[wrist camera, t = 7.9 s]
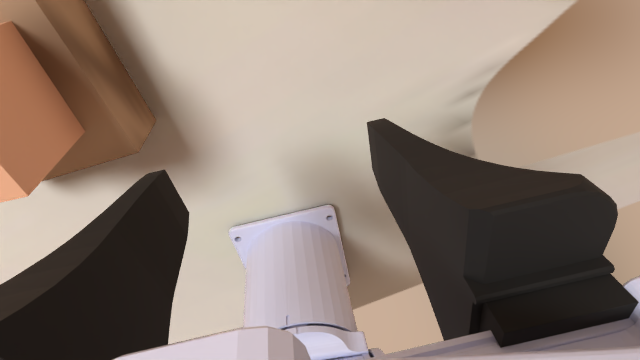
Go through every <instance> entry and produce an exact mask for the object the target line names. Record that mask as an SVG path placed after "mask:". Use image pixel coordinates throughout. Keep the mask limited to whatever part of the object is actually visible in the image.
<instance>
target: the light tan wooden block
mask: <svg viewBox="0 0 640 360" xmlns="http://www.w3.org/2000/svg"><path fill="white" fill-rule="evenodd" d="M8 21H12V23H13V24H14V26H15V27H16V29H17V30H18V32H19V33H20V35H21V36H22V38H23V39H24V41H25V42H26V44H27V45H28V47H29V48H30V50H31V51H32V53H33V54H34V56H35V57H36V59H37V60H38V62H39V63H40V65H41V66H42V68H43V69H44V71H45V72H46V74H47V75H48V77H49V78H50V80H51V81H52V83H53V84H54V86H55V87H56V88H57V90H58V91H59V93H60V94H61V96H62V97H63V99H64V100H65V102H66V103H67V105H68V106H69V108H70V109H71V111H72V112H73V114H74V115H75V117H76V118H77V120H78V121H79V123H80V124H81V126H82V127H83V129H84V130H85V132H84V134H83V135H82V136H81V137H80V138H79V139H78V140H77V142H76V143H75V144H74V145H73V146H72V147H71V148H70V149H69V151H68V152H67V153H66V154H65V155H64V156H63V157H62V158H61V160H60V161H59V162H58V163H57V164H56V165H55V166H54V167H53V169H52V170H51V171H50V172H49V173H48V174H47V175H46V177H45V178H44V179H43V180H42V181H44V180H47V179H51V178H54V177H58V176H61V175H64V174H68V173H71V172H74V171H78V170H81V169H84V168H88V167H91V166H94V165H98V164H101V163H105V162H108V161H111V160H115V159H118V158H121V157H125V156H128V155H131V154H135V153H138V152H139V151H140V149H141V147H142V145H143V144H144V142H145V140H146V138H147V136H148V135H149V133H150V131H151V129H152V127H153V125H154V124H155V122H156V119H155V118H154V116H153V114H152V113H151V111H150V109H149V108H148V106H147V104H146V103H145V101H144V99H143V98H142V96H141V94H140V93H139V91H138V89H137V88H136V86H135V84H134V83H133V81H132V79H131V78H130V76H129V74H128V73H127V71H126V69H125V68H124V66H123V64H122V63H121V61H120V60H119V58H118V56H117V55H116V53H115V51H114V50H113V48H112V46H111V45H110V43H109V41H108V40H107V38H106V36H105V35H104V33H103V31H102V30H101V28H100V26H99V25H98V23H97V21H96V20H95V18H94V16H93V15H92V13H91V11H90V10H89V8H88V6H87V5H86V3H85V1H84V0H0V23H4V22H8Z"/></svg>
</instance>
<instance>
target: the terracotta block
mask: <svg viewBox="0 0 640 360" xmlns="http://www.w3.org/2000/svg"><path fill="white" fill-rule="evenodd" d="M84 132H85V130H84V129H83V127H82V126H81V124H80V123H79V121H78V120H77V118H76V117H75V115H74V114H73V112H72V111H71V109H70V108H69V106H68V105H67V103H66V102H65V100H64V99H63V97H62V96H61V94H60V93H59V91H58V90H57V88H56V87H55V86H54V84H53V83H52V81H51V80H50V78H49V77H48V75H47V74H46V72H45V71H44V69H43V68H42V66H41V65H40V63H39V62H38V60H37V59H36V57H35V56H34V54H33V53H32V51H31V50H30V48H29V47H28V45H27V44H26V42H25V41H24V39H23V38H22V36H21V35H20V33H19V32H18V30H17V29H16V27H15V26H14V24H13V23H12V21H8V22H4V23H0V202H5V201H9V200H13V199H18V198H22V197H26V196H29V195H30V193H31V192H32V191H33V190H34V189H35V188H36V187H37V186H38V184H39V183H40V182H41V181H42V180H43V179H44V178H45V177H46V175H47V174H48V173H49V172H50V171H51V170H52V169H53V167H54V166H55V165H56V164H57V163H58V162H59V161H60V160H61V158H62V157H63V156H64V155H65V154H66V153H67V152H68V151H69V149H70V148H71V147H72V146H73V145H74V144H75V143H76V142H77V140H78V139H79V138H80V137H81V136H82V135H83V134H84Z"/></svg>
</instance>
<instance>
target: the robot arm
mask: <svg viewBox="0 0 640 360" xmlns="http://www.w3.org/2000/svg"><path fill="white" fill-rule="evenodd" d="M367 127H368V135H369V144H370V152H371V160H372V168H373V172H374V175H375V178H376V181H377V183H378V186H379V189H380V191H381V194H382V195H383V197H384V199H385V201H386V203H387V205H388V207H389V209H390V211H391V213H392V214H393V216H394V218H395V220H396V222H397V224H398V226H399V228H400V229H401V231H402V233H403V235H404V237H405V239H406V241H407V243H408V245H409V248H410V250H411V252H412V255H413V258H414V260H415V263H416V265H417V268H418V270H419V273H420V275H421V278H422V281H423V283H424V286H425V289H426V291H427V294H428V296H429V299H430V302H431V305H432V308H433V311H434V313H435V316H436V319H437V322H438V324H439V327H440V330H441V333H442V336H443V339H444V341H441V342H437V343H433V344H428V345H424V346H420V347H416V348H411V349H407V350H403V351H399V352H394V353H390V354H384V353H383V351H381V349H379V348H373V349H368V347H367V343H366V339H365V335H364V332H363V331H357V327H356V323H355V319H354V314H353V310H352V306H351V301H350V297H349V293H348V289H347V286H348V285H349V284H350V277H349V273H348V268H347V264H346V259H345V255H344V250H343V246H342V241H341V236H340V232H339V227H338V223H337V218H336V214H335V209H334V207H333V206H332V205H324V206H320V207H316V208H312V209H307V210H303V211H299V212H294V213H290V214H286V215H282V216H277V217H273V218H269V219H264V220H260V221H256V222H252V223H247V224H243V225H239V226H234V227H232V228H230V230H229V236H230V238H231V240H232V242H233V245H234V247H235V249H236V251H237V253H238V255H239V257H240V259H241V261H242V263H243V265H244V267H245V269H246V284H245V305H244V325H243V328H237V329H233V330H229V331H224V332H220V333H216V334H211V335H207V336H203V337H198V338H194V339H190V340H186V341H181V342H177V343H173V344H168V337H169V326H170V318H171V309H172V302H173V297H174V291H175V287H176V283H177V279H178V275H179V271H180V267H181V263H182V259H183V254H184V250H185V246H186V241H187V236H188V224H189V212H188V210H187V208H186V206H185V205H184V203H183V201H182V199H181V197H180V196H179V194H178V192H177V190H176V188H175V187H174V185H173V183H172V181H171V180H170V178H169V176H168V174H167V172H166V171H165V170H161V171H157V172H153V173H148V174H147V175H145V176H144V177H142V178H141V179H140V180H139V181H137V182H136V183H135V184H134V185H133V186H132V187H131V188H129V189H128V190H127V191H126V192H125V193H124V194H123V195H122V196H121V197H119V198H118V199H117V200H116V201H115V202H114V203H113V204H112V205H111V206H109V207H108V208H107V209H106V210H105V211H104V212H103V213H101V214H100V215H99V216H98V217H97V218H96V219H94V220H93V221H92V222H91V223H90V224H88V225H87V226H86V227H85V228H84V229H83V230H81V231H80V232H79V233H78V234H76V235H75V236H74V237H72V238H71V239H70V240H68V241H67V242H66V243H64V244H63V245H62V246H60V247H59V248H57V249H56V250H55V251H53V252H52V253H50V254H49V255H48V256H46V257H45V258H43V259H41V260H40V261H38V262H37V263H35V264H34V265H32V266H30V267H29V268H27V269H26V270H24V271H23V272H21V273H19V274H18V275H16V276H15V277H13V278H11V279H10V280H8V281H6V282H4V283H3V284H1V285H0V360H640V276H638V277H635V278H633V279H630V280H629V281H627V282H626V283H624V284H623V286H622V285H621V284H620V283H619V282H618V281H617V280H616V279H615V278H614V277H613V276H612V275H611V274H610V273H613V272H614V270H615V269H614V266H613V264H612V263H611V262H610V261H609V260H607V259H606V258H605V257H604V256H603V252H604V250H605V248H606V246H607V243H608V241H609V239H610V237H611V234H612V232H613V230H614V228H615V224H616V220H617V216H618V212H617V205H616V203H615V202H614V201H613V199H612V198H611V197H610V196H609V195H607V194H606V193H605V192H603V191H602V190H601V189H600V188H598V187H597V186H596V185H594V184H593V183H592V182H590V181H589V180H588V179H587V178H585V177H584V176H582V175H581V174H569V173H557V172H544V171H535V170H528V169H521V168H514V167H508V166H503V165H498V164H494V163H490V162H485V161H481V160H478V159H474V158H470V157H467V156H464V155H461V154H458V153H455V152H452V151H449V150H447V149H444V148H442V147H439V146H437V145H435V144H433V143H430V142H428V141H426V140H424V139H422V138H420V137H418V136H416V135H414V134H412V133H410V132H408V131H406V130H405V129H403V128H401V127H399V126H398V125H396V124H394V123H392V122H390V121H389V120H387V119H385V118H383V119H379V120H374V121H370V122H367ZM329 215H331V216H330V217H327V216H329ZM236 237H240V238H236Z"/></svg>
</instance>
